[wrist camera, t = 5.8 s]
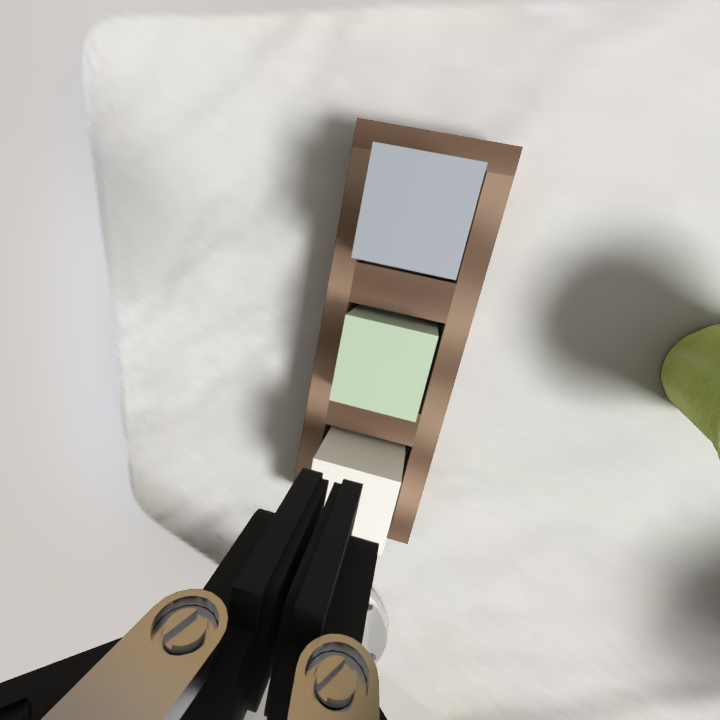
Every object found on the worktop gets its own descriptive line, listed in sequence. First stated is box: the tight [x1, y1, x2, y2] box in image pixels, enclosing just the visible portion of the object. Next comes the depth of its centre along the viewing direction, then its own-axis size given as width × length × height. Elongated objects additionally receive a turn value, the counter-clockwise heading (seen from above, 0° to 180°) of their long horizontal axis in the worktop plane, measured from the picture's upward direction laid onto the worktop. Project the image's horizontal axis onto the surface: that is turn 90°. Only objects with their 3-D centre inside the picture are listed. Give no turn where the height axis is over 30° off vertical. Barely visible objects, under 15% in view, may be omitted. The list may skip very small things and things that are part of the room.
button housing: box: [294, 118, 523, 544], centre depth 27 cm, size 27×9×3 cm, turn 169°
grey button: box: [351, 142, 488, 280], centre depth 22 cm, size 6×6×5 cm
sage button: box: [329, 304, 439, 422], centre depth 26 cm, size 6×6×5 cm
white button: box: [311, 426, 406, 556], centre depth 27 cm, size 6×6×5 cm
